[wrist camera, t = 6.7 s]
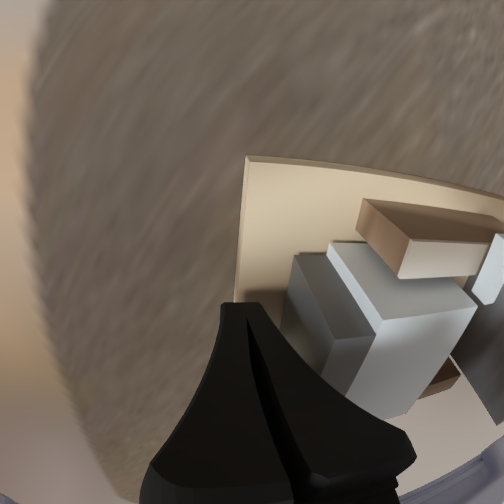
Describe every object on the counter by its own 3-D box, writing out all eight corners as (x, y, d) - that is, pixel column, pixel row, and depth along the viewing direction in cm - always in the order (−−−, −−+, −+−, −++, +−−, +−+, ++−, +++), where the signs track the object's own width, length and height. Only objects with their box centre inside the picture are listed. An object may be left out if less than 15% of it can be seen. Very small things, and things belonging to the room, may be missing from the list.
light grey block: (388, 348, 14) (422, 407, 11) (272, 361, 13) (291, 439, 10) (449, 196, 10) (520, 245, 7) (307, 177, 9) (368, 238, 6)
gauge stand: (435, 347, 17) (491, 435, 11) (228, 374, 15) (249, 520, 8) (502, 196, 12) (608, 275, 5) (245, 154, 10) (345, 334, 3)
